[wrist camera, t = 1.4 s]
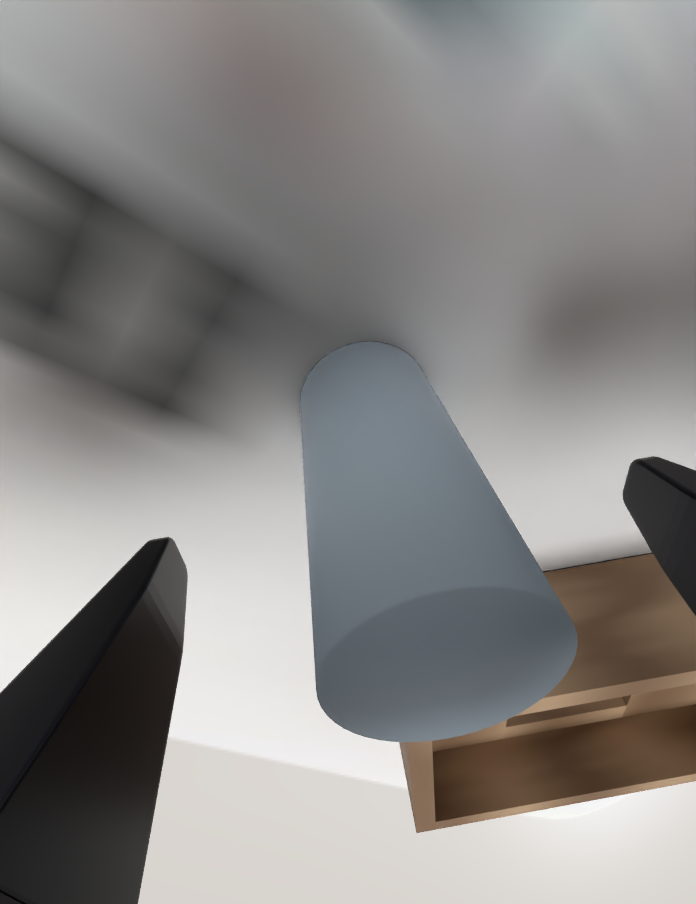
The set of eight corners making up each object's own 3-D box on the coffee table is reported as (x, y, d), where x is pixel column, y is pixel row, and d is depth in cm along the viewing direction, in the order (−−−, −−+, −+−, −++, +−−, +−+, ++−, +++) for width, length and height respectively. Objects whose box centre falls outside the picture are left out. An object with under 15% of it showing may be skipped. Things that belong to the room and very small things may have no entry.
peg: (426, 331, 12) (600, 563, 5) (429, 446, 14) (558, 718, 7) (288, 353, 12) (292, 616, 5) (311, 466, 14) (335, 758, 7)
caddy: (750, 536, 18) (872, 639, 14) (684, 667, 23) (761, 768, 19) (379, 600, 18) (405, 723, 14) (395, 720, 23) (416, 832, 19)
